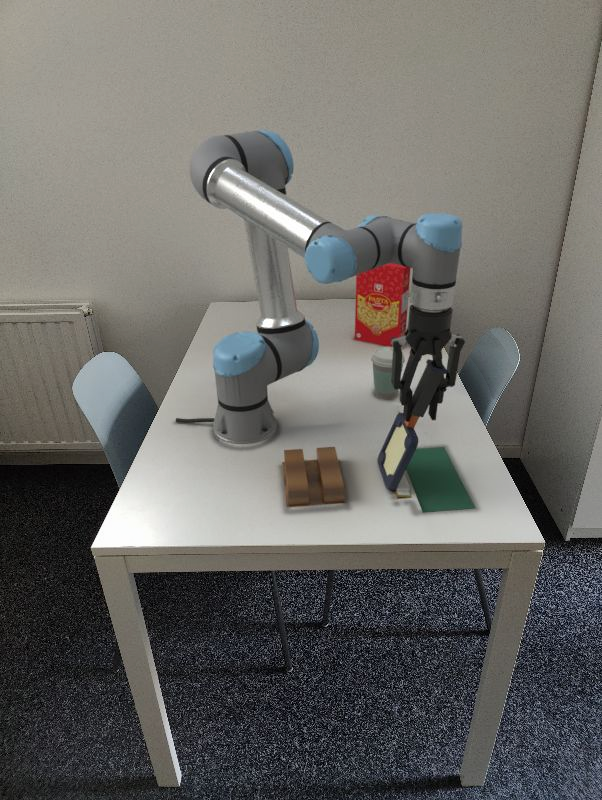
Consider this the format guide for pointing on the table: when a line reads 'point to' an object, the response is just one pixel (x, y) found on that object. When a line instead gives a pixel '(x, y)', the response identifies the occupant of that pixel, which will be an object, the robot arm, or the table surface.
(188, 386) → the table surface
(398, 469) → the racket
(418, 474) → the mat
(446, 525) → the table surface
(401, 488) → the harmonica
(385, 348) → the coffee cup
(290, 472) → the stand
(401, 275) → the food packaging
